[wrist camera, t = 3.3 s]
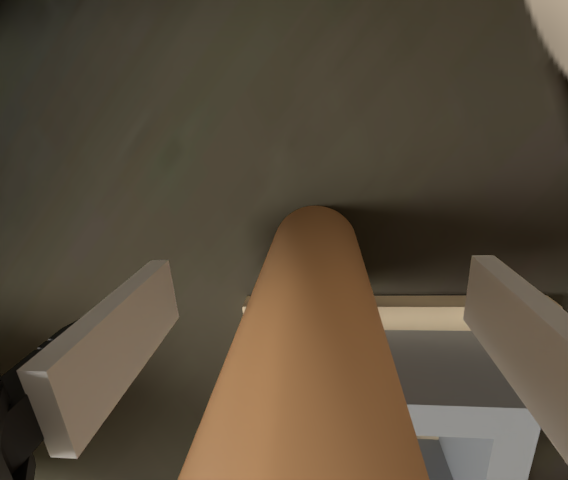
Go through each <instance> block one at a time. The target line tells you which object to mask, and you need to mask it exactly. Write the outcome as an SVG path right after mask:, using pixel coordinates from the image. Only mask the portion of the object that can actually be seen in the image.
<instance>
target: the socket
mask: <svg viewBox="0 0 568 480" xmlns="http://www.w3.org/2000/svg"><path fill="white" fill-rule="evenodd" d="M384 331H385V334H386V337H387V341H388V344H389V347H390V350H391V354H392V357H393V360H394V364H395V367H396V370H397V374H398V377H399V380H400V384H401V387H402V390H403V393H404V397H405V400H406V403H407V407H408V410H409V413H410V417H411V420H412V423H413V427H414V430H415V433H416V436H437V437H439V440H433V439H417V440H418V443H419V446H420V450H421V453H422V456H423V460H424V463H425V466H426V470H427V473H428V476H429V479H430V480H528V477H529V473H530V469H531V465H532V461H533V457H534V453H535V449H536V445H537V441H538V437H539V433H540V429H541V427H540V426H539V424H538V423H537V422H536V420H535V419H534V417H533V416H532V415H531V413H530V412H529V410H528V409H527V408H526V406H525V405H524V403H523V402H522V401H521V399H520V398H519V396H518V395H517V394H516V392H515V391H514V389H513V388H512V387H511V385H510V384H509V383H508V381H507V380H506V378H505V377H504V376H503V374H502V373H501V371H500V370H499V369H498V367H497V366H496V364H495V363H494V362H493V360H492V359H491V357H490V356H489V355H488V353H487V352H486V350H485V349H484V348H483V346H482V345H481V343H480V342H479V341H478V339H477V338H476V336H475V335H474V334H473V332H472V331H438V330H384Z"/></svg>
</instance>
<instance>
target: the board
mask: <svg viewBox="0 0 568 480" xmlns="http://www.w3.org/2000/svg"><path fill="white" fill-rule="evenodd" d="M545 296H547V295H545ZM547 297H548V298H549V299H551V298H550V297H549V296H547ZM374 298H375V301H376V304H377V307H378V311H379V314H380V317H381V321H382V324H383V327H384V330H438V331H471V329H470V328H469V327H468V325H467V324H466V322H465V321H464V320H463V317H464V309H465V302H466V295H424V296H374ZM249 299H250V296H247V297H246V299H245V302H244V304H243V306H242V307H243V314H244V312H245V309H246V307H247V304H248V302H249ZM551 300H552V301H553V302H554V303H556V304H557V305H558V306H560V305H559V304H558V303H557V302H555V301H554V300H553V299H551ZM560 307H561V308H563V307H562V306H560ZM417 439H433V440H439V437H437V436H417Z"/></svg>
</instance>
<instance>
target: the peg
mask: <svg viewBox="0 0 568 480" xmlns="http://www.w3.org/2000/svg"><path fill="white" fill-rule="evenodd" d="M178 480H430V479H429V476H428V473H427V470H426V466H425V463H424V460H423V456H422V453H421V450H420V446H419V443H418V440H417V436H416V433H415V430H414V427H413V423H412V420H411V417H410V413H409V410H408V407H407V403H406V400H405V397H404V393H403V390H402V387H401V384H400V380H399V377H398V374H397V370H396V367H395V364H394V360H393V357H392V354H391V350H390V347H389V344H388V341H387V337H386V334H385V331H384V327H383V324H382V321H381V317H380V314H379V311H378V307H377V304H376V301H375V298H374V294H373V291H372V288H371V284H370V281H369V278H368V274H367V271H366V268H365V264H364V261H363V258H362V254H361V251H360V248H359V245H358V241H357V238H356V235H355V232H354V229H353V227H352V225H351V224H350V223H349V221H348V220H347V219H346V218H345V217H344V216H343V215H342V214H340V213H339V212H337V211H335V210H333V209H331V208H328V207H324V206H307V207H303V208H300V209H297V210H295V211H293V212H292V213H290V214H289V215H288V216H287V217H286V218H285V219H284V220H283V221H282V222H281V224H280V225H279V227H278V229H277V231H276V234H275V236H274V239H273V241H272V244H271V246H270V249H269V251H268V254H267V256H266V259H265V261H264V264H263V266H262V269H261V271H260V274H259V276H258V279H257V281H256V284H255V286H254V289H253V291H252V294H251V296H250V299H249V302H248V304H247V307H246V309H245V312H244V314H243V317H242V319H241V322H240V324H239V327H238V329H237V332H236V334H235V337H234V339H233V342H232V344H231V347H230V349H229V352H228V354H227V357H226V359H225V362H224V364H223V367H222V369H221V372H220V374H219V377H218V379H217V382H216V384H215V387H214V389H213V392H212V394H211V397H210V399H209V402H208V404H207V407H206V409H205V412H204V414H203V417H202V419H201V422H200V424H199V427H198V429H197V432H196V434H195V437H194V440H193V442H192V445H191V447H190V450H189V452H188V455H187V457H186V460H185V462H184V465H183V467H182V470H181V472H180V475H179V477H178Z"/></svg>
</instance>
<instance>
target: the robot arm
mask: <svg viewBox="0 0 568 480" xmlns="http://www.w3.org/2000/svg"><path fill="white" fill-rule="evenodd" d="M178 318H179V314H178V309H177V303H176V298H175V292H174V287H173V282H172V276H171V271H170V265H169V260H151V261H149V262H148V263H147V264H146V265H145V266H143V267H142V268H141V269H140V270H138V271H137V272H136V273H135V274H134V275H132V276H131V277H130V278H129V279H127V280H126V281H125V282H124V283H123V284H121V285H120V286H119V287H118V288H117V289H115V290H114V291H113V292H112V293H110V294H109V295H108V296H107V297H106V298H104V299H103V300H102V301H101V302H99V303H98V304H97V305H96V306H95V307H93V308H92V309H91V310H90V311H88V312H87V313H86V314H85V315H84V316H82V317H81V318H80V319H79V320H77V321H75V322H73V323H71V324H69V325H67V326H65V327H64V328H62V329H60V330H59V331H58V332H57V333H55V334H54V335H53V336H52V337H50V338H49V339H48V341H45V342H44V343H43V344H42V345H40V346H39V347H38V349H37V350H34V351H33V352H32V353H30V354H29V355H28V356H27V357H25V358H24V359H23V360H22V361H20V362H19V363H18V364H17V365H15V366H14V367H13V368H12V369H10V370H9V371H8V372H7V373H5V374H4V375H3V376H2V377H1V376H0V480H34V475H35V468H36V463H35V458H34V456H33V451H34V450H35V449H36V448H37V447H38V446H39V445H40V443H41V442H42V441H43V440H44V443H45V445H46V448H47V450H48V453H49V455H50V457H55V458H72V459H78V457H79V456H80V454H81V453H82V452H83V450H84V449H85V447H86V446H87V445H88V443H89V442H90V441H91V439H92V438H93V436H94V435H95V434H96V432H97V431H98V429H99V428H100V427H101V425H102V424H103V422H104V421H105V420H106V418H107V417H108V416H109V414H110V413H111V411H112V410H113V409H114V407H115V406H116V404H117V403H118V402H119V400H120V399H121V397H122V396H123V395H124V393H125V392H126V391H127V389H128V388H129V386H130V385H131V384H132V382H133V381H134V379H135V378H136V377H137V375H138V374H139V373H140V371H141V370H142V368H143V367H144V366H145V364H146V363H147V361H148V360H149V359H150V357H151V356H152V354H153V353H154V352H155V350H156V349H157V348H158V346H159V345H160V343H161V342H162V341H163V339H164V338H165V336H166V335H167V334H168V332H169V331H170V329H171V328H172V327H173V325H174V324H175V323H176V321H177V320H178ZM463 320H464V321H465V322H466V324H467V325H468V327H469V328H470V329H471V331H472V332H473V334H474V335H475V336H476V338H477V339H478V341H479V342H480V343H481V345H482V346H483V348H484V349H485V350H486V352H487V353H488V355H489V356H490V357H491V359H492V360H493V362H494V363H495V364H496V366H497V367H498V369H499V370H500V371H501V373H502V374H503V376H504V377H505V378H506V380H507V381H508V383H509V384H510V385H511V387H512V388H513V389H514V391H515V392H516V394H517V395H518V396H519V398H520V399H521V401H522V402H523V403H524V405H525V406H526V408H527V409H528V410H529V412H530V413H531V415H532V416H533V417H534V419H535V420H536V422H537V423H538V424H539V426H540V427H541V429H542V430H543V431H544V433H545V434H546V436H547V437H548V438H549V440H550V441H551V443H552V444H553V445H554V447H555V448H556V450H557V451H558V452H559V454H560V455H561V457H562V458H563V459H564V461H565V462H566V464H567V465H568V313H567V312H566V311H565V310H563V309H562V308H561V307H560V306H558V305H557V304H556V303H554V302H553V301H552V300H551V299H549V298H548V297H547V296H545V295H544V294H543V293H542V292H540V291H539V290H538V289H536V288H535V287H534V286H533V285H531V284H530V283H529V282H527V281H526V280H525V279H524V278H522V277H521V276H520V275H518V274H517V273H516V272H515V271H513V270H512V269H511V268H509V267H508V266H507V265H506V264H504V263H503V262H502V261H501V260H499V259H498V258H497V257H495V256H494V255H472V257H471V264H470V272H469V279H468V287H467V294H466V302H465V309H464V317H463Z"/></svg>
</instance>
